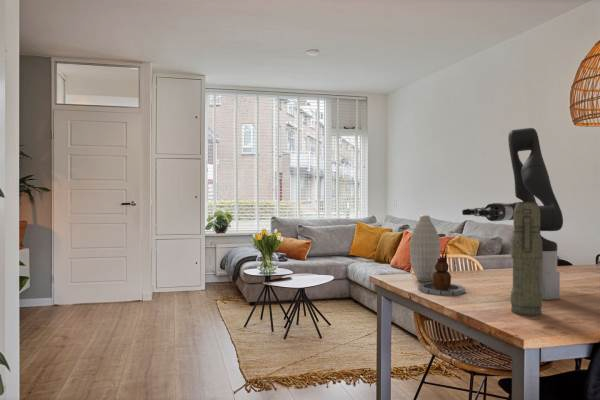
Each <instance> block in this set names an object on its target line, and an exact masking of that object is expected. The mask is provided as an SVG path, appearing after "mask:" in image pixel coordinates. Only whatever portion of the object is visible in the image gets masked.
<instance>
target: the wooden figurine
mask: <svg viewBox="0 0 600 400" xmlns="http://www.w3.org/2000/svg"><path fill="white" fill-rule="evenodd" d="M447 256H448V255H447V251H445V253H441V255H440V259H439V258H438V261H437V263H436V264H435V269H436V272H434V273H433V279H432V283H433V285H434V287H433V288H434V289H435V290H450V289H451V288H450V284H452V276H451V273H450V272H448V270H449V269H450V268H449V263H448V261H447V258H448V257H447Z"/></svg>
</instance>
